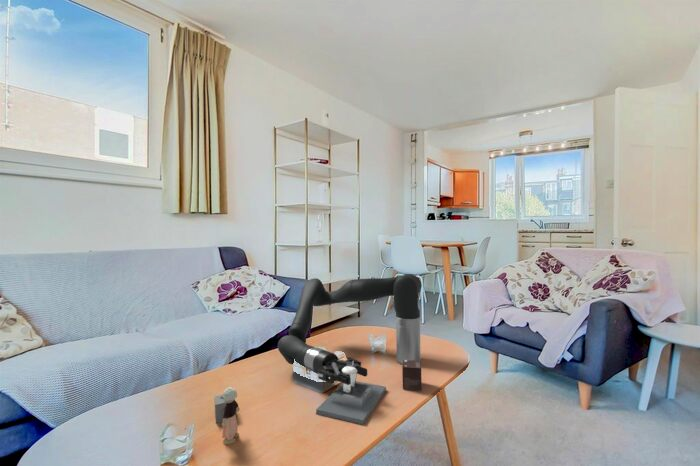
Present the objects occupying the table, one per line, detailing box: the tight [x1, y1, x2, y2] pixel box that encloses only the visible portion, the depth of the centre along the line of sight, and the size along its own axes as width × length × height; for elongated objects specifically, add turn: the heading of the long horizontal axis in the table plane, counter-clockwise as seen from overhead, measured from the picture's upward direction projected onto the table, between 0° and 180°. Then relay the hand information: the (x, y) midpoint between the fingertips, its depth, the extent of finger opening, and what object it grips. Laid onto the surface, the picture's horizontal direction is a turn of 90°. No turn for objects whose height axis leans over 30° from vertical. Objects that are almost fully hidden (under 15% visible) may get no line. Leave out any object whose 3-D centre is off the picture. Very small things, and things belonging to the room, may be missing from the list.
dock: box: [315, 380, 387, 426], centre depth 99 cm, size 20×14×4 cm
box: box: [401, 360, 423, 391], centre depth 108 cm, size 6×6×7 cm
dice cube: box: [214, 394, 236, 424], centre depth 92 cm, size 5×5×5 cm
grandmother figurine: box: [221, 386, 241, 445], centre depth 81 cm, size 8×4×13 cm, turn 5°
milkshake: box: [341, 361, 358, 396], centre depth 98 cm, size 4×5×10 cm
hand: (358, 376), depth 97 cm, fingers open, 6 cm apart
